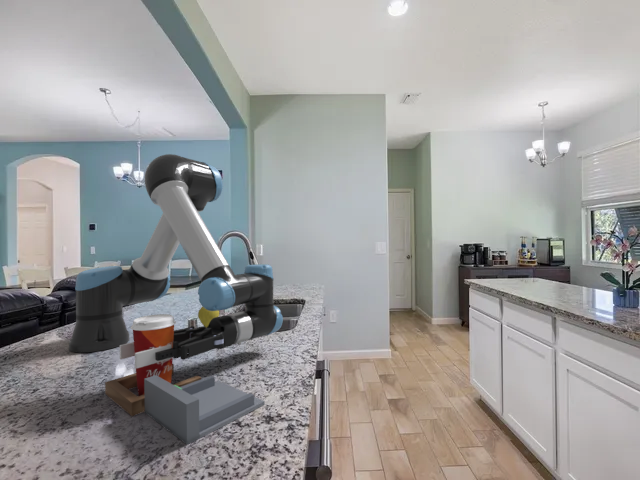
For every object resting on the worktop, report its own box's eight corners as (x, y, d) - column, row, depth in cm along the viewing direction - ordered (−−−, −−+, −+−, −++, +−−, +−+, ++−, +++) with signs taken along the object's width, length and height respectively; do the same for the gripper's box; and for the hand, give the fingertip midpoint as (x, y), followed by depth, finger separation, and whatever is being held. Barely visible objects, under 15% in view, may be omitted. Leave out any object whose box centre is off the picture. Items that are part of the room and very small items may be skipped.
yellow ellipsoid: (207, 338, 102) (206, 307, 102) (193, 335, 105) (193, 305, 105) (223, 333, 107) (223, 303, 108) (210, 330, 111) (210, 301, 111)
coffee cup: (158, 403, 60) (157, 323, 60) (121, 399, 62) (120, 322, 62) (185, 383, 69) (184, 313, 69) (152, 380, 70) (151, 312, 70)
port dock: (187, 444, 48) (186, 404, 48) (144, 412, 57) (144, 378, 57) (264, 404, 59) (264, 372, 59) (218, 383, 69) (218, 355, 69)
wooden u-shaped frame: (131, 416, 56) (131, 402, 56) (105, 394, 64) (105, 382, 64) (201, 389, 66) (201, 377, 66) (170, 372, 75) (170, 362, 75)
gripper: (255, 353, 73) (150, 390, 55) (207, 338, 86) (109, 364, 68) (254, 320, 73) (149, 346, 55) (207, 310, 86) (109, 328, 68)
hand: (127, 356), depth 62 cm, fingers closed on coffee cup, 7 cm apart
